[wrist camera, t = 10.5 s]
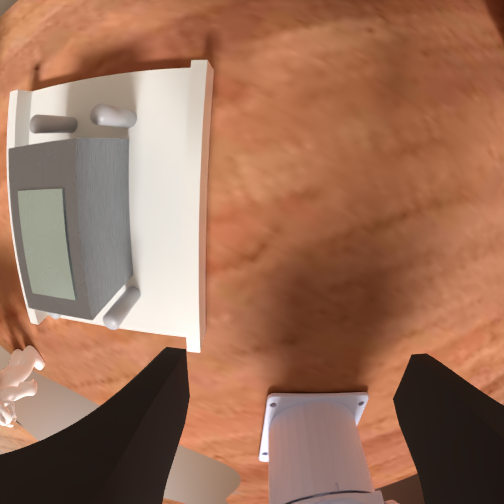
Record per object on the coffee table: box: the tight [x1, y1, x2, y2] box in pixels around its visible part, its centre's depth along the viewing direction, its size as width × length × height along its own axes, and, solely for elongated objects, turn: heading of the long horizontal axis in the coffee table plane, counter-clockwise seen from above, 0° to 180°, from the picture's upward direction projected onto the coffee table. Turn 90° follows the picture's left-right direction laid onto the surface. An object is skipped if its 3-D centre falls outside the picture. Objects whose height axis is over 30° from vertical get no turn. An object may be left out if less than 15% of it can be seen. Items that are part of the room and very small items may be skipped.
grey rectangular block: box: [8, 138, 133, 320], centre depth 14 cm, size 8×4×6 cm, turn 177°
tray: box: [7, 60, 214, 353], centre depth 15 cm, size 16×13×4 cm
